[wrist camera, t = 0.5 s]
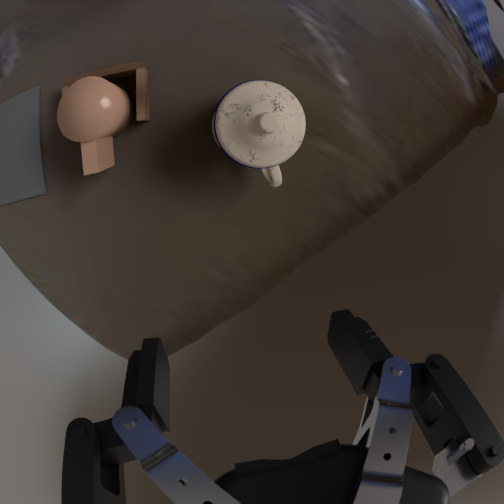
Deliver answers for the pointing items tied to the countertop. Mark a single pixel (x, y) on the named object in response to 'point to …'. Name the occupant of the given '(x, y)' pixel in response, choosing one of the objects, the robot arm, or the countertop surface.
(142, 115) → the walnut holder
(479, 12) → the countertop surface
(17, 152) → the charcoal mat
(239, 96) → the teacup with lid
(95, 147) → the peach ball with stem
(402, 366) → the robot arm
